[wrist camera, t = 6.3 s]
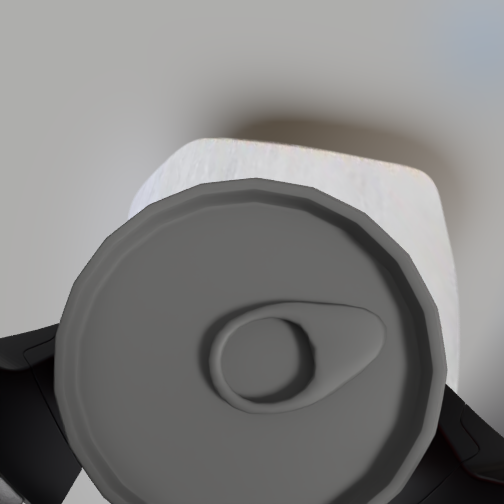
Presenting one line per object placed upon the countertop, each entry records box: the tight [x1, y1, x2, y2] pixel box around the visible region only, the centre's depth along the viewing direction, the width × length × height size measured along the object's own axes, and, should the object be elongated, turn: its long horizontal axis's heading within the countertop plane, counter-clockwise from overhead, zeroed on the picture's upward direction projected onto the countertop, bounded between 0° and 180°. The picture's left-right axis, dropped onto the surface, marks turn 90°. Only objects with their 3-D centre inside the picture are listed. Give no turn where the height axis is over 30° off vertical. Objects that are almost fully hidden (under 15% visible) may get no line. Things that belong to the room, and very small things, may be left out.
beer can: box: [54, 178, 447, 504], centre depth 9 cm, size 7×7×12 cm
